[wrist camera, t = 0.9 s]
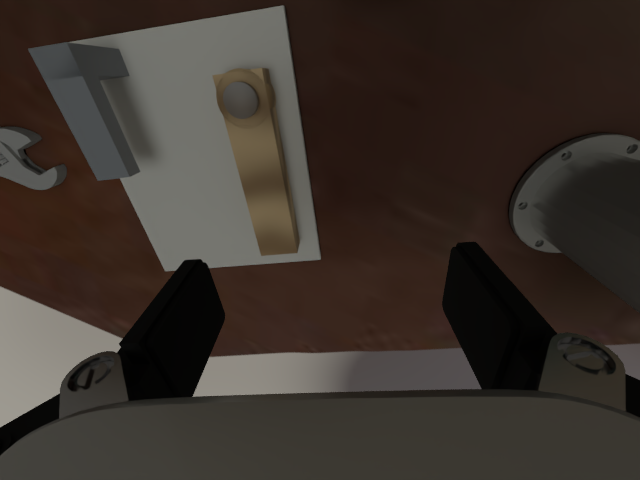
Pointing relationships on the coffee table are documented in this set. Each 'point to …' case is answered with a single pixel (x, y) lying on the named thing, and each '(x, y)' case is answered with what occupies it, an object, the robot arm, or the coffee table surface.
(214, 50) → the mounting board
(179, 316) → the robot arm
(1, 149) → the adjustable wrench
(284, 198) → the tan bar
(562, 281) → the coffee table surface
